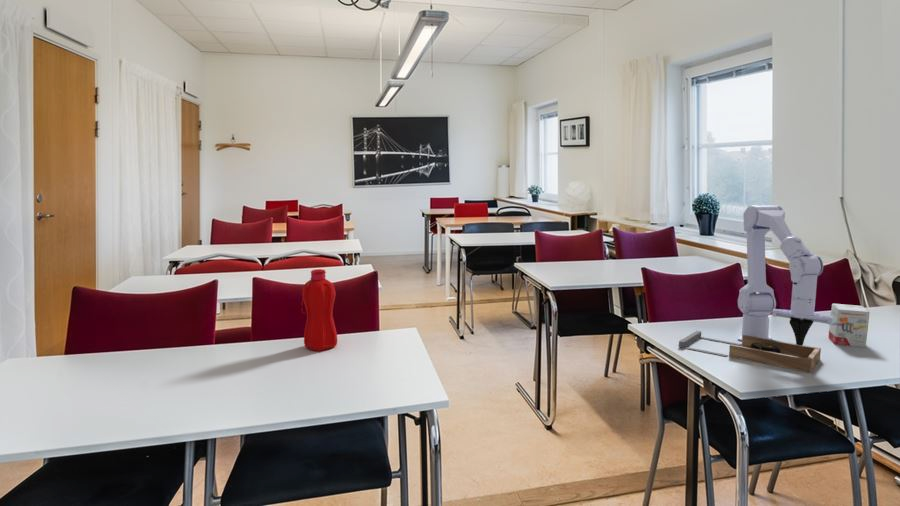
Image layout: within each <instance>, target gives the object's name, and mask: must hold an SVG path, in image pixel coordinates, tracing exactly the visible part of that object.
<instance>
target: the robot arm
mask: <svg viewBox="0 0 900 506" xmlns="http://www.w3.org/2000/svg"><path fill="white" fill-rule="evenodd" d="M785 217H786V212H785V211H784V209H783V207H782V206H781V205H780V204H776V205H748V206H747V208H746V209H745V210H744V212H743V231H744V232H746V261H747V262H746V263H747V266H746V267H747V283H746V284H745V285H744V286H743V287H741V288H740V289H739V294H738V298H737V308H738V309H739V310H740V312H741V313H742V326H741V335H740V336H739V337H737V341H741V342H742V336H743V335H747V336H753V337H758V338H764V339H770V340H772V336H769V329H770V317H769V316H771V314H772V317H774V318H775V317H776V318H777V317H780V318H786V319H789V322H788V323H789V325H790V326H791V329H792V332H793V333H794V337H795V338H794V339H795V344H796V345H801V346H802V345H804V343H805V339H806V336H807V335H808V332H809V330H810V328H811V327H812V325H813V324H814V323H821V324H827V325H829V326H830V325H832V323H833V317H832V316H831V315H825V314H821V313H820V314H819V313H815V307H816V298H817V284H818V277H819V276H820V275H822V273H823V272H824V271H823V270H824V262H823V260H822V257H821V256H819V255H815V254H814V253H811V252H810V250H809V248H807V246H806V245H805V244H804V242H803V240H802V238H800V237H798V236H794V235H793V233H792V231H791V230H790V228H789V226H788V224H787V223H786V221H785V219H786V218H785ZM769 232H772V233H773V234H774V235H775V236H776V237H777V239H778V240H779V241H780V242H781V243H780V247H779V248H780V250H781V251H782V253H783V255H784V256H785V257H786V259H787V261H788V262H789V264H788V269H789V272H790V273H789V274H790V280H791V282H792V289H791V301H790V309H781V308H779V309H778V308H776V307H777V300H776V297H775V293H774V291H775V290H774V289H773V288H772V287H771V286H769V285H768V284H767V274H766V271H767V269H766V267H767V266H766V237H765V236H766V235H767V234H768V233H769Z"/></svg>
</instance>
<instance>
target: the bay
mask: <svg viewBox="0 0 900 506" xmlns="http://www.w3.org/2000/svg"><path fill="white" fill-rule="evenodd" d="M699 339H701V340H708V341H712V342H717V343H723V344H728V345H731V344H732V345H737V346H742V343H737V342H731V341H726V340H720V339H715V338H711V337H705V336H702V331H699V330H696V331H694V332H692V333H690V334H689V335H687V336H686V337H684V338H682V339H681V340H679V341H678V348H679V347H680V349H684V348H685V349H684V350H689V351H693V352H699V353H705V354H709V355H715V356H720V357H725V358H727V357H729V355H728V354H724V353H719V352H714V351H710V350H702V349H699V348H693V347H688V346H690V345H691V344H693V343H694V342H696V341H698V340H699Z"/></svg>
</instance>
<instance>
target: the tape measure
mask: <svg viewBox="0 0 900 506" xmlns="http://www.w3.org/2000/svg"><path fill="white" fill-rule="evenodd" d="M750 348H753V349H759V350H764V351H770V352H775V353H780V349H779V348H778V347H776V346H773V345H771V344H767V343H764V342H753V343H752V344H751V346H750Z"/></svg>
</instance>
